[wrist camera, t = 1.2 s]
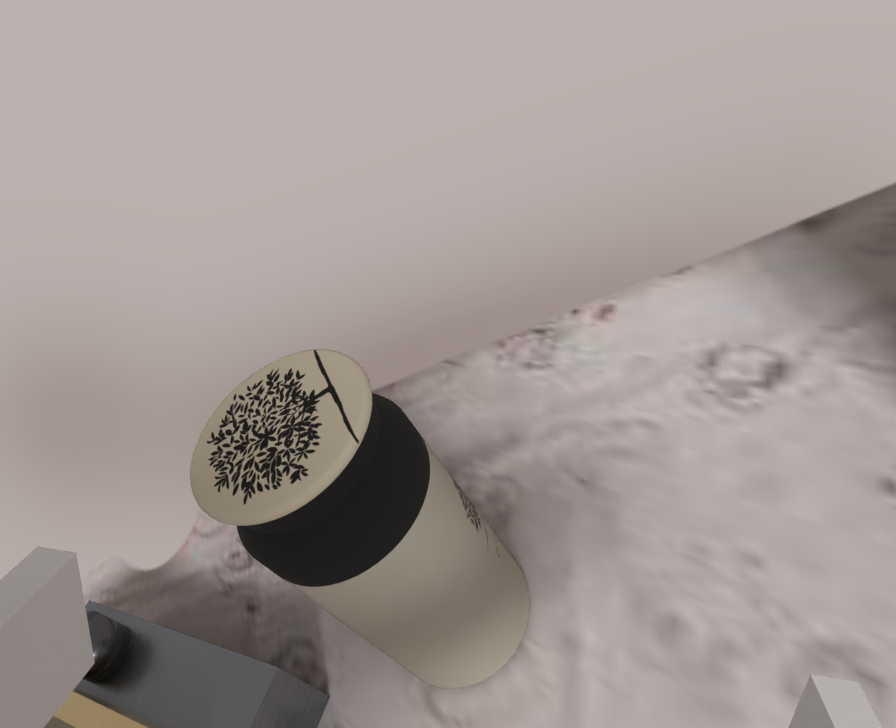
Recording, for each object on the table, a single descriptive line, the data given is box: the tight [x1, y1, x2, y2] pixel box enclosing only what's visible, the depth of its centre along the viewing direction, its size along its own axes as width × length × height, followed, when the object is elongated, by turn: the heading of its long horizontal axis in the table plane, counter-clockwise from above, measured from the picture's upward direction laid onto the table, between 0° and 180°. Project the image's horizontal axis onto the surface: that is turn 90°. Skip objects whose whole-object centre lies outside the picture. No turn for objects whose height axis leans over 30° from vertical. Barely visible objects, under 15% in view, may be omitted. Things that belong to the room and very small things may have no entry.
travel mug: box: [190, 350, 530, 689], centre depth 30 cm, size 8×8×18 cm
